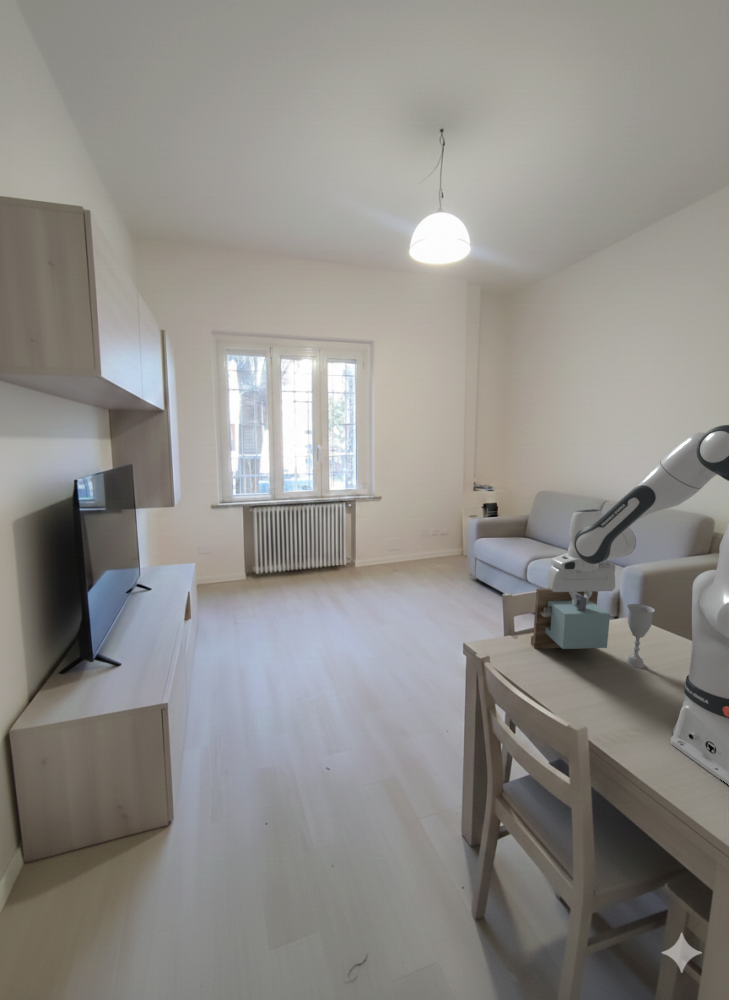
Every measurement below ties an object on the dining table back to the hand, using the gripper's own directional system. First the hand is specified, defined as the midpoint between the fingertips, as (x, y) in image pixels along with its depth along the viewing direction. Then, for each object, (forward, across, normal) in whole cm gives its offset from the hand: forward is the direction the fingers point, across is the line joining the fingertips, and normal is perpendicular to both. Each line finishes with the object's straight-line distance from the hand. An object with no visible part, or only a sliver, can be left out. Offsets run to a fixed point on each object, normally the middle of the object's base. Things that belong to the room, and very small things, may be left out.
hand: (579, 604), depth 138 cm
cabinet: (+12, 0, -1) cm, 12 cm away
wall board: (+18, 0, -7) cm, 19 cm away
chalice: (+18, -17, +4) cm, 25 cm away
